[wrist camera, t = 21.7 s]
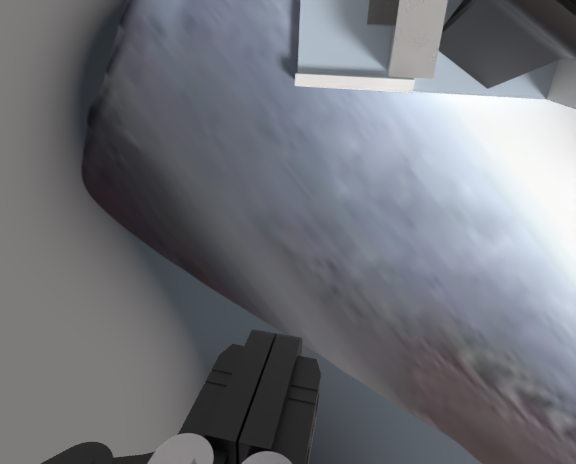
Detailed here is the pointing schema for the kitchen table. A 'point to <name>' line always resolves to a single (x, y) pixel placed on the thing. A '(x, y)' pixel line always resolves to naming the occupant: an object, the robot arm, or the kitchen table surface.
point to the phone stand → (508, 37)
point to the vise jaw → (411, 34)
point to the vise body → (376, 52)
